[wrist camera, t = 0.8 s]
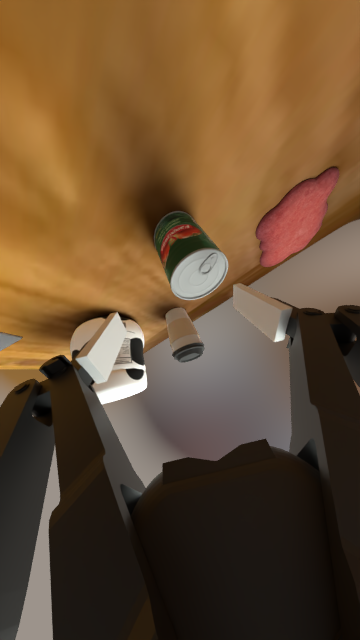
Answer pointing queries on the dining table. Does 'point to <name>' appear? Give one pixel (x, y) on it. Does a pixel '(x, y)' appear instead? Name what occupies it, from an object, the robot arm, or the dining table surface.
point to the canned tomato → (188, 256)
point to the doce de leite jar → (117, 360)
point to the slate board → (7, 340)
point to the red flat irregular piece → (295, 218)
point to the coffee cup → (183, 336)
